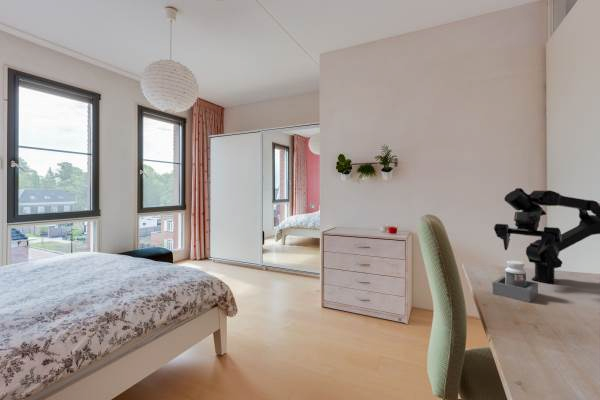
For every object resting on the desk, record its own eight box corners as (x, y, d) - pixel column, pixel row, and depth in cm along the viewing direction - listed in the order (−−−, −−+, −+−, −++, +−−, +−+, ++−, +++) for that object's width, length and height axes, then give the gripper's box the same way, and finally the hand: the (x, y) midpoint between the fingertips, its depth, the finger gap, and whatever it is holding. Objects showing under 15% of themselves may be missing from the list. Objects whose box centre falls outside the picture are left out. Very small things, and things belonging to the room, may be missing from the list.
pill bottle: (530, 294, 92) (530, 264, 91) (510, 293, 93) (510, 264, 93) (520, 288, 97) (520, 260, 97) (501, 287, 99) (501, 259, 98)
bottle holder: (502, 286, 102) (502, 276, 102) (537, 294, 94) (537, 282, 94) (492, 293, 96) (492, 282, 96) (529, 302, 88) (529, 289, 88)
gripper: (495, 203, 109) (484, 234, 102) (560, 204, 94) (552, 241, 88) (502, 221, 114) (492, 252, 107) (564, 225, 99) (557, 261, 93)
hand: (520, 251), depth 99 cm, fingers open, 9 cm apart
